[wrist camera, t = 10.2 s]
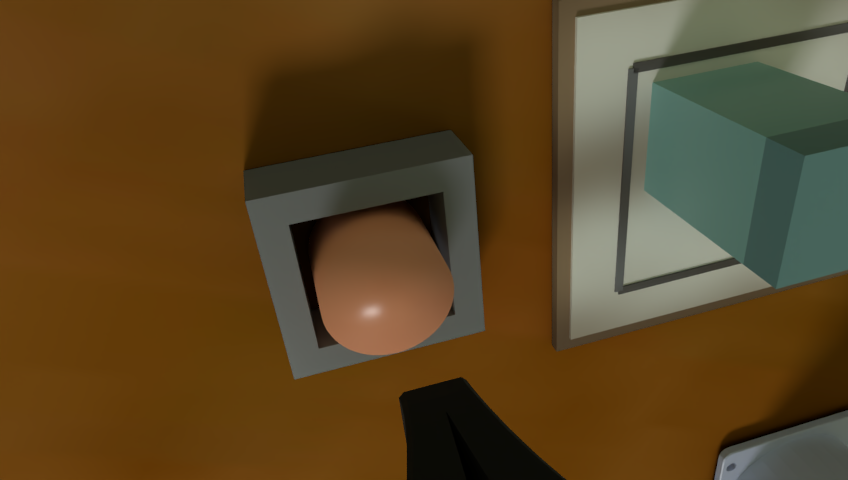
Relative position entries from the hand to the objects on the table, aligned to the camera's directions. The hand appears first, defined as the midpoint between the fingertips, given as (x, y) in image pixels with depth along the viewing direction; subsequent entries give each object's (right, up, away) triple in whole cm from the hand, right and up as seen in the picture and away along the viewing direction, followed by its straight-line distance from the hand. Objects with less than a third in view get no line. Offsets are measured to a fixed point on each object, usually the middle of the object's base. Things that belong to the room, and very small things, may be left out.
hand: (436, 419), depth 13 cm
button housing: (-2, +4, +6) cm, 8 cm away
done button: (-2, +4, +6) cm, 7 cm away
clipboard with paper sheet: (+11, +7, +9) cm, 16 cm away
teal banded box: (+9, +7, +7) cm, 13 cm away
